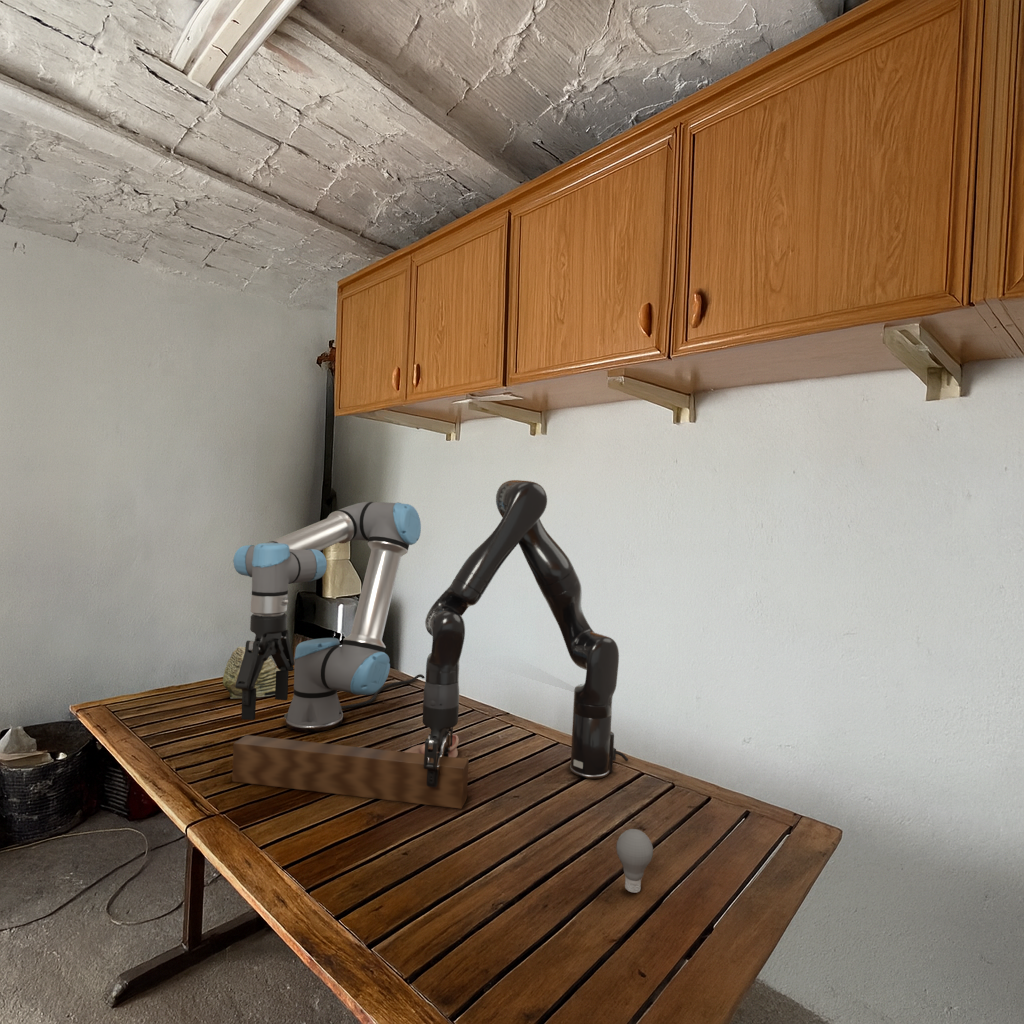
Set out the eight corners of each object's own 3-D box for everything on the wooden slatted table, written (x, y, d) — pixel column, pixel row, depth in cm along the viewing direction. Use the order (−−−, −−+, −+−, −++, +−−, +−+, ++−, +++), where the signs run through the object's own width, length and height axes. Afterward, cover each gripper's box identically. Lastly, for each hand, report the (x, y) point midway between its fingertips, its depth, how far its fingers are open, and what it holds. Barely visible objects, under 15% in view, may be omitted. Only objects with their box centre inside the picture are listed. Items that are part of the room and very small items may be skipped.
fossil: (218, 695, 195) (220, 647, 195) (278, 685, 208) (279, 640, 207) (228, 703, 189) (230, 653, 188) (289, 692, 201) (290, 645, 201)
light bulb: (610, 879, 108) (613, 822, 108) (644, 879, 109) (647, 822, 109) (619, 902, 102) (622, 840, 102) (655, 901, 103) (658, 840, 103)
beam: (231, 781, 139) (233, 743, 139) (244, 772, 144) (246, 734, 144) (461, 809, 131) (463, 768, 131) (467, 797, 136) (468, 758, 136)
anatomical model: (397, 744, 153) (414, 727, 164) (396, 760, 153) (413, 743, 165) (449, 750, 151) (463, 733, 162) (449, 767, 151) (462, 749, 162)
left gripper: (253, 625, 127) (249, 730, 127) (311, 605, 152) (307, 693, 152) (219, 622, 128) (215, 726, 128) (282, 603, 153) (278, 690, 153)
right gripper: (450, 714, 127) (446, 794, 127) (465, 693, 141) (462, 766, 141) (413, 710, 128) (410, 790, 128) (433, 690, 142) (429, 762, 142)
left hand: (265, 708), depth 140 cm, fingers open, 13 cm apart
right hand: (437, 777), depth 134 cm, fingers open, 8 cm apart
